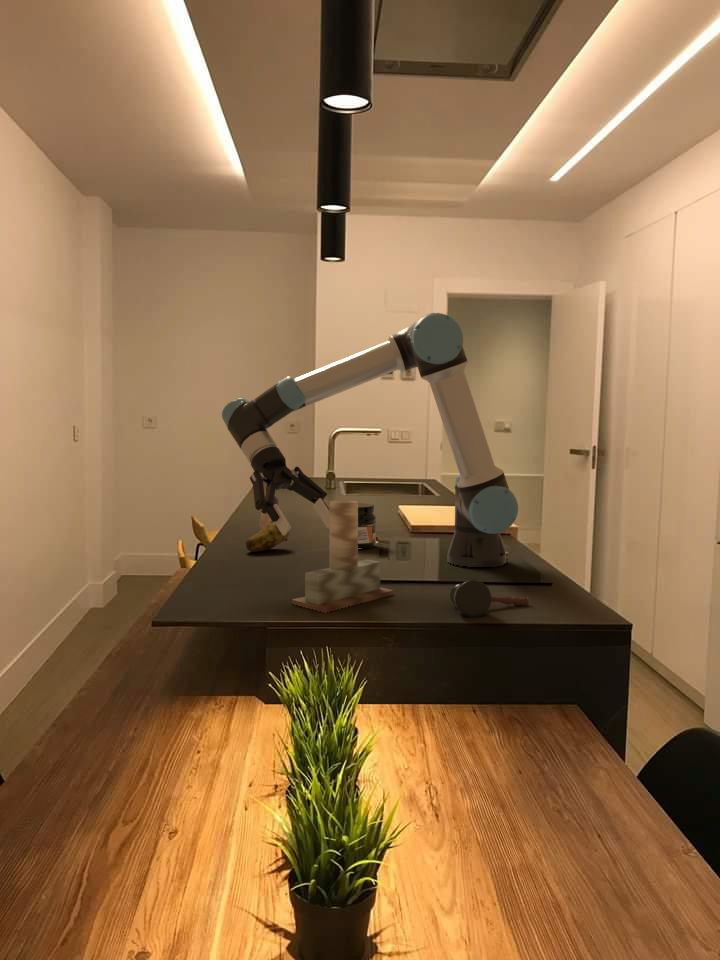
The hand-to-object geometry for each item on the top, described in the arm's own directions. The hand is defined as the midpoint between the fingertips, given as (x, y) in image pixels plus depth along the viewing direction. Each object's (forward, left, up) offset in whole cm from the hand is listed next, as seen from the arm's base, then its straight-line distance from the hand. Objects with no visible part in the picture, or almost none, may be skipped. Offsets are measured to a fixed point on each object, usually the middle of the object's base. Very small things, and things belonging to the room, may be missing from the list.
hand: (309, 527), depth 185 cm
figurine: (-7, -78, -14) cm, 80 cm away
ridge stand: (-5, +9, -14) cm, 18 cm away
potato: (0, -49, -15) cm, 51 cm away
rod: (-5, +9, -7) cm, 13 cm away
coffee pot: (-32, +26, -15) cm, 44 cm away
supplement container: (-26, -48, -15) cm, 57 cm away
